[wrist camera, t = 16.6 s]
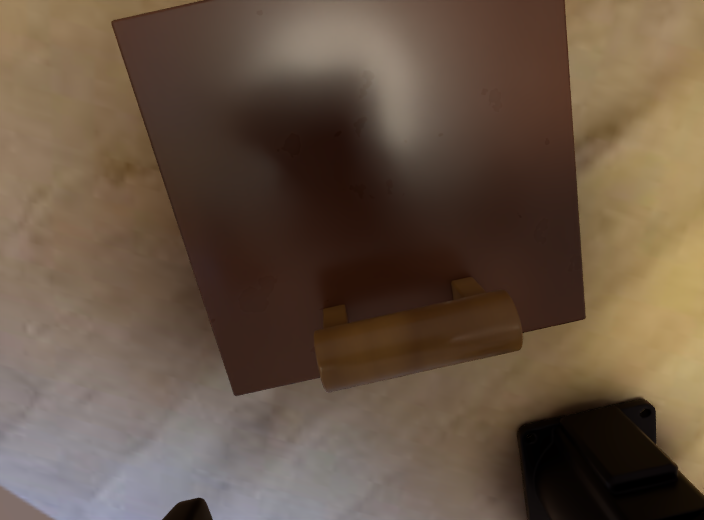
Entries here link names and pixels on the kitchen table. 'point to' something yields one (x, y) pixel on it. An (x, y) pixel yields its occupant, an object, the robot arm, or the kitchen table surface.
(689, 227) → the kitchen table surface
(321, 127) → the lid
